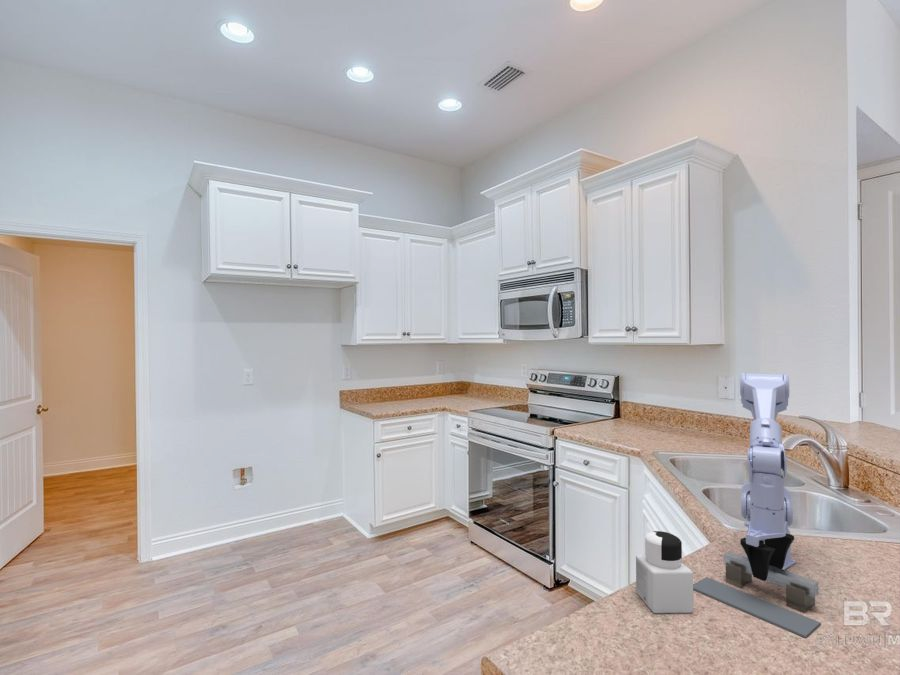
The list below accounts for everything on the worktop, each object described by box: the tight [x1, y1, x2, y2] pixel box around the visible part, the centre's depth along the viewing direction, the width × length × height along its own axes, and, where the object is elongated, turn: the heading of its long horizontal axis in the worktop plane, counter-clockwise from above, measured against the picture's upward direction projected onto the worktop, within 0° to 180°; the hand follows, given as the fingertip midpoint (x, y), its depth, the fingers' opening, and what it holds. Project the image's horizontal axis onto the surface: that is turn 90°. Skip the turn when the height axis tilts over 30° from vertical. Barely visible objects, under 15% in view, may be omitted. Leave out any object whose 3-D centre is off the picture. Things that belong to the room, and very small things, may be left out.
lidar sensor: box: [635, 530, 694, 614], centre depth 90 cm, size 8×8×13 cm
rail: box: [723, 550, 820, 598], centre depth 93 cm, size 2×16×2 cm, turn 35°
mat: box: [693, 576, 822, 639], centre depth 89 cm, size 7×20×1 cm, turn 34°
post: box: [785, 584, 816, 614], centre depth 89 cm, size 5×3×4 cm, turn 124°
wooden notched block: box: [725, 562, 753, 589], centre depth 98 cm, size 5×3×4 cm, turn 124°
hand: (768, 573), depth 93 cm, fingers open, 7 cm apart
